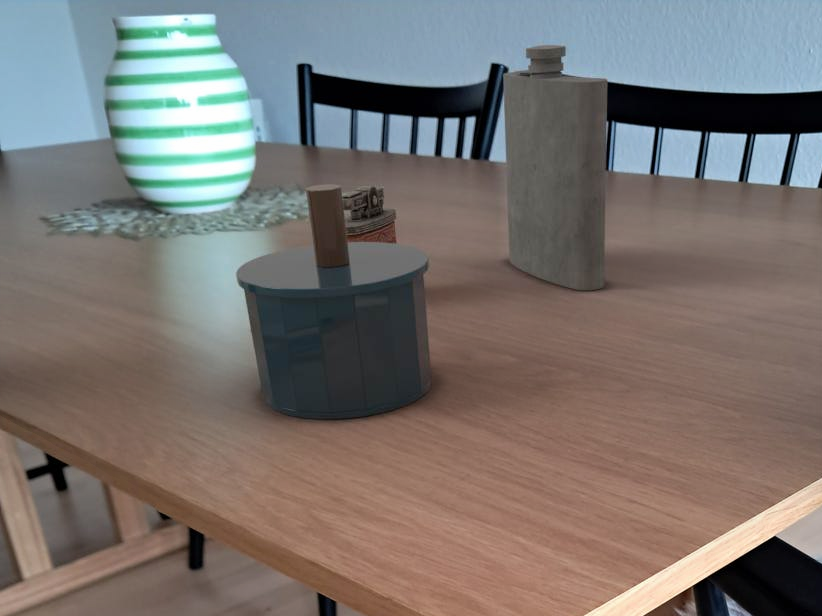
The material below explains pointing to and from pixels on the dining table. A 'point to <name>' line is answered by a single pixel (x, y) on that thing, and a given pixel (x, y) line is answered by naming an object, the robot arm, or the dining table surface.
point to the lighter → (369, 216)
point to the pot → (342, 351)
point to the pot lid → (331, 259)
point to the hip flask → (556, 171)
